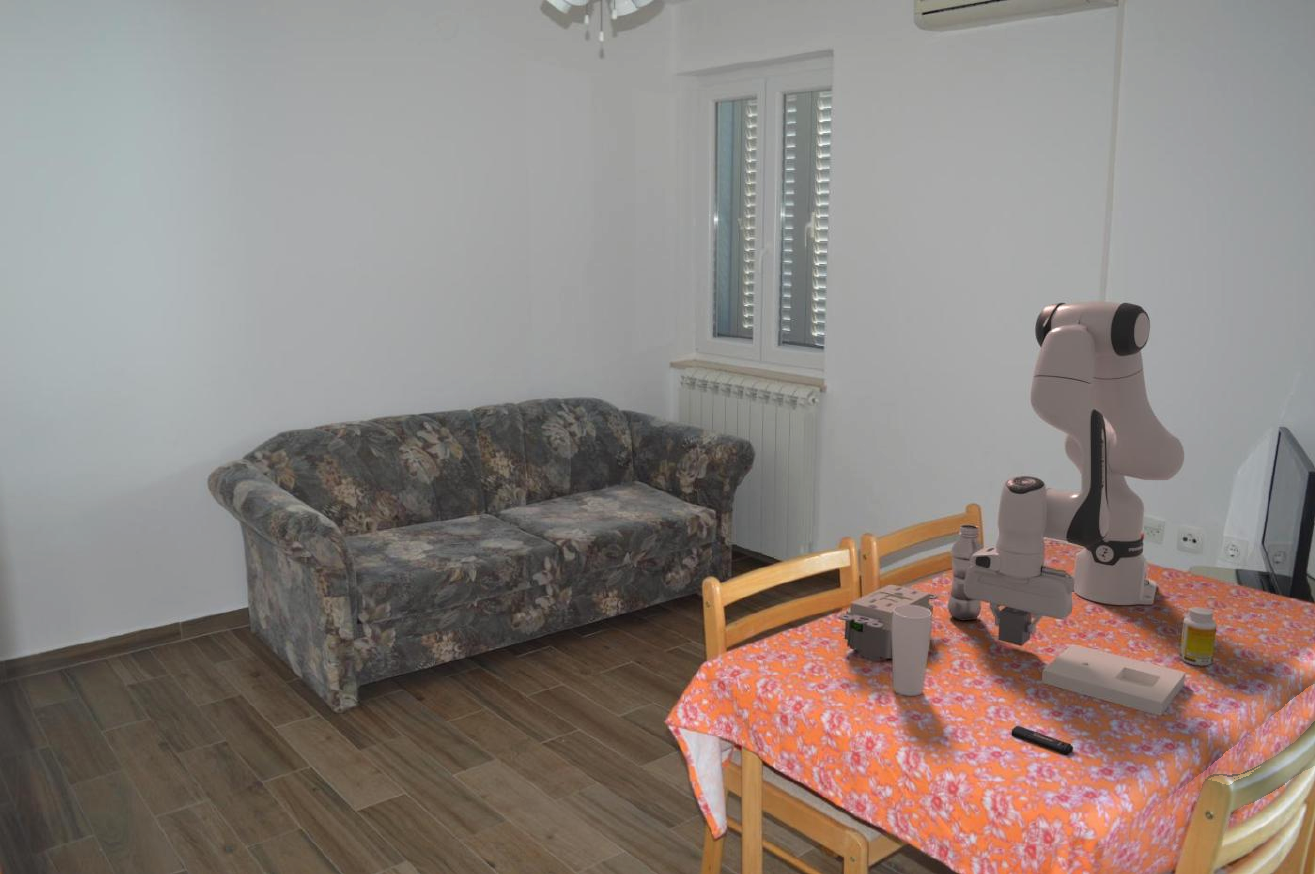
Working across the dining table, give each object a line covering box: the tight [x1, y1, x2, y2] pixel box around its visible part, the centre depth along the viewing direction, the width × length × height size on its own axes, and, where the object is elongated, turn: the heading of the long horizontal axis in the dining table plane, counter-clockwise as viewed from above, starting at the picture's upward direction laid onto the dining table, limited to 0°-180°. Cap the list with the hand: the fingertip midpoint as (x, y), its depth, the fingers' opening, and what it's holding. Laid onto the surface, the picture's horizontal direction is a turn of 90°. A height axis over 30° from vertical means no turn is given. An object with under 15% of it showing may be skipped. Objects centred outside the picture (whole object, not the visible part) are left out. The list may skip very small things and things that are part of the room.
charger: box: [997, 606, 1033, 647], centre depth 198 cm, size 5×5×6 cm
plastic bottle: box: [947, 524, 984, 621], centre depth 214 cm, size 6×7×20 cm
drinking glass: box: [891, 605, 933, 697], centre depth 180 cm, size 7×7×15 cm
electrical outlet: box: [837, 584, 939, 662], centre depth 201 cm, size 12×28×10 cm, turn 142°
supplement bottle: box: [1179, 606, 1217, 667], centre depth 194 cm, size 6×6×10 cm
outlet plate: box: [1041, 643, 1187, 717], centre depth 184 cm, size 16×20×2 cm
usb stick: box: [1011, 725, 1074, 756], centre depth 163 cm, size 10×3×2 cm, turn 45°
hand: (1014, 628), depth 199 cm, fingers closed on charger, 5 cm apart
